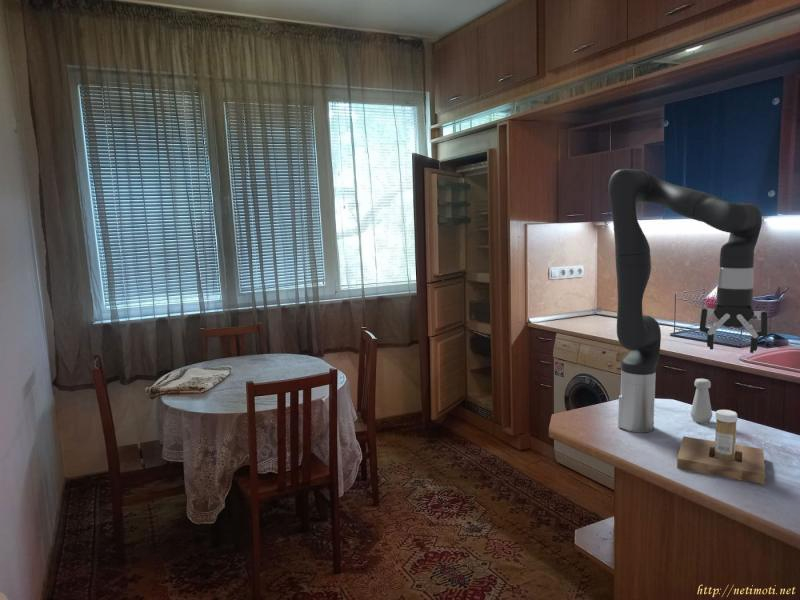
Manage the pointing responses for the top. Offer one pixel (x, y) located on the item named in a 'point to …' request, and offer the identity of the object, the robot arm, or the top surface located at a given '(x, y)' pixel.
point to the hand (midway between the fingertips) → (731, 350)
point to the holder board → (722, 460)
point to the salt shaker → (701, 402)
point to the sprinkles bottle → (725, 434)
